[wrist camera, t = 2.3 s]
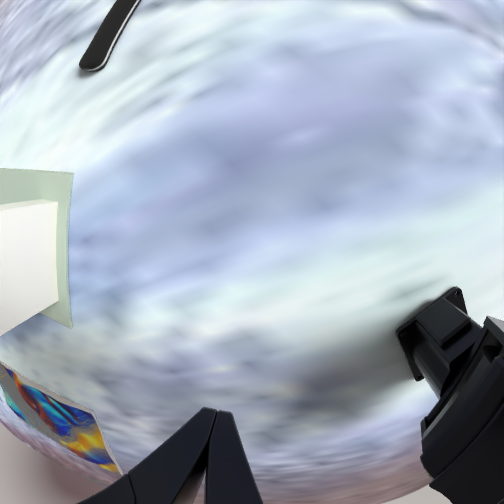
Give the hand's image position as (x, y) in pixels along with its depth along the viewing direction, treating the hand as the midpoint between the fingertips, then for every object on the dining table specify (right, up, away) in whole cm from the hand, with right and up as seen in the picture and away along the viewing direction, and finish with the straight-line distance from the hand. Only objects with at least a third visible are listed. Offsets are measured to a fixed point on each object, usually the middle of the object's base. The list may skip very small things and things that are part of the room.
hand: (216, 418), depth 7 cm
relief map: (-30, -20, +20) cm, 42 cm away
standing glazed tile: (-17, +5, +12) cm, 22 cm away
